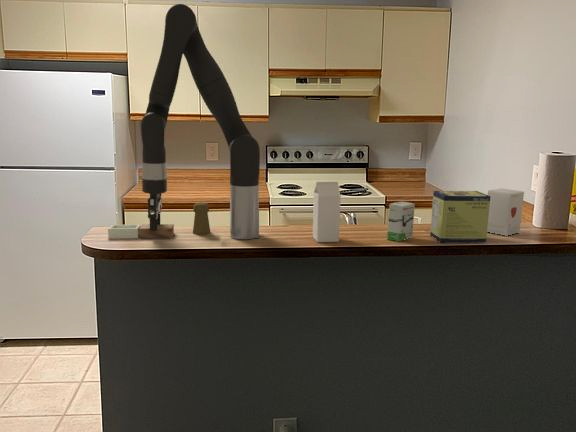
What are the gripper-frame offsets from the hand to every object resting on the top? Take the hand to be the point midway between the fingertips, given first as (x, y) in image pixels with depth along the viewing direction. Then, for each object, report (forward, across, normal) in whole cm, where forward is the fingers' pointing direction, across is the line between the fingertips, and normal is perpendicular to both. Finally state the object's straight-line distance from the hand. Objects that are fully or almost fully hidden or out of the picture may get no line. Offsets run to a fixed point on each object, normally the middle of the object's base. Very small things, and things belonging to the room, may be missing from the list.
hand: (155, 227), depth 167 cm
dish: (+4, 0, +10) cm, 10 cm away
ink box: (+2, -5, -80) cm, 80 cm away
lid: (+3, 0, 0) cm, 3 cm away
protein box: (+2, -7, -99) cm, 99 cm away
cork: (+4, +3, -15) cm, 15 cm away
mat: (+4, 0, -1) cm, 4 cm away
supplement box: (+2, +1, -118) cm, 119 cm away
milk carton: (+3, -5, -54) cm, 55 cm away
